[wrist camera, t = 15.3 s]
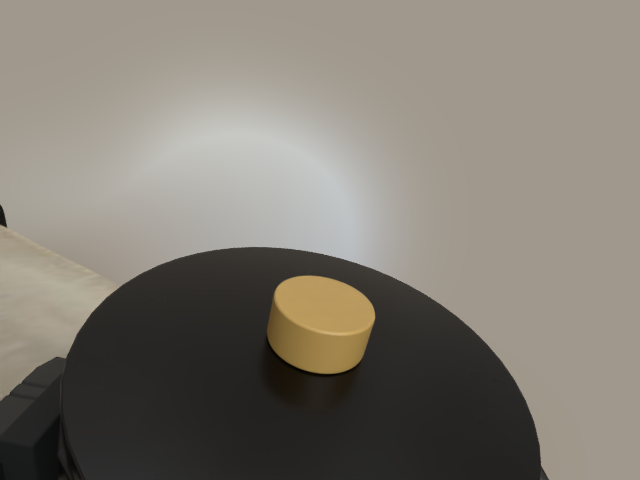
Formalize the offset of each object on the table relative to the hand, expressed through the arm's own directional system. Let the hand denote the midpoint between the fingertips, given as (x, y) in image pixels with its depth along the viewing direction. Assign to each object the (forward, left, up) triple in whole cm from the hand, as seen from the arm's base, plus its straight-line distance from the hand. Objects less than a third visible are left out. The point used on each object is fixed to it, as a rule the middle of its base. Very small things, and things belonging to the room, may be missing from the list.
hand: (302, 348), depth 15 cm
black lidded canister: (+3, -2, -6) cm, 8 cm away
